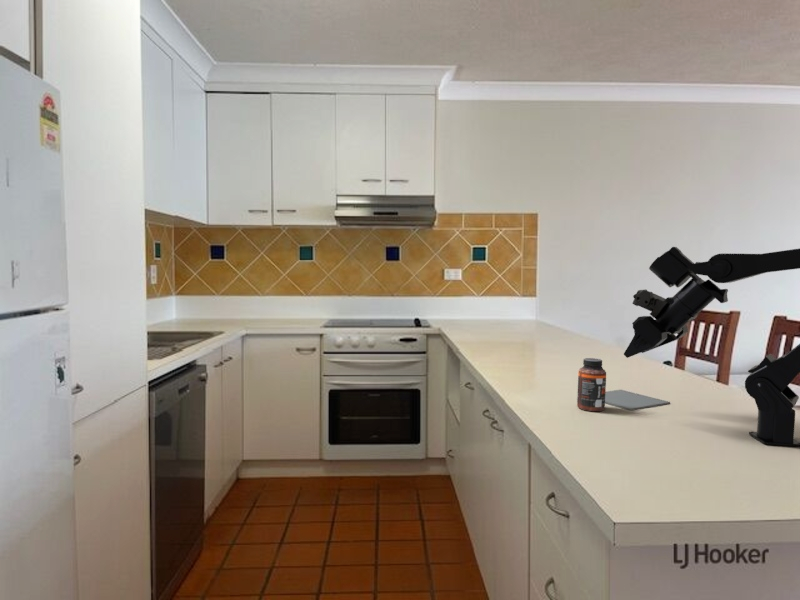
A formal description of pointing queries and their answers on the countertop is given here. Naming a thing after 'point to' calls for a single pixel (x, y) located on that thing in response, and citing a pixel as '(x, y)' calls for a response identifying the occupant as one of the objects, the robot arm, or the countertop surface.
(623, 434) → the countertop surface
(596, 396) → the supplement bottle
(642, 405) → the mat
